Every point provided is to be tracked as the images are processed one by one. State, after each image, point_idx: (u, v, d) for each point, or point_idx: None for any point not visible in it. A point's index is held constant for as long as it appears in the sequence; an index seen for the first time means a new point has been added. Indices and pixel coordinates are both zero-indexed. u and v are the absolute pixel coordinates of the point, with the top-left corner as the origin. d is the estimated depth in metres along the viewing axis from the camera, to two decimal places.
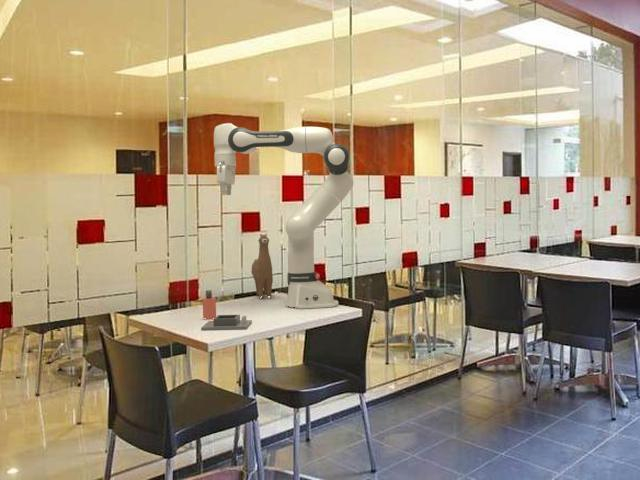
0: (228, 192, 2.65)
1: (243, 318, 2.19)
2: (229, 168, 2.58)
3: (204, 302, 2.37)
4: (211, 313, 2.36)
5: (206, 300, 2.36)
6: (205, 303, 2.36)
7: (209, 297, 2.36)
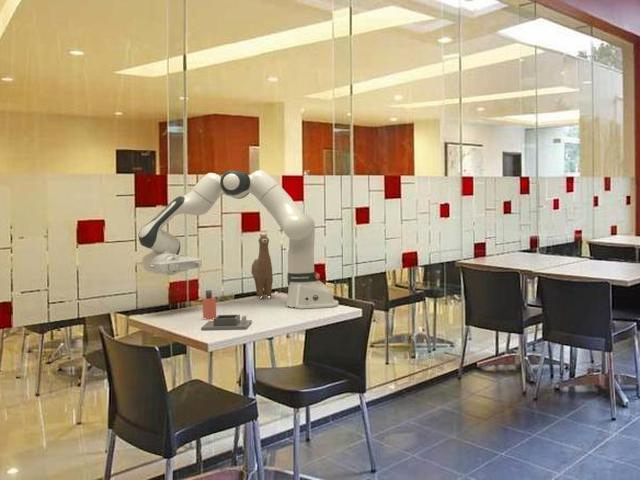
0: (195, 264, 2.49)
1: (243, 318, 2.19)
2: (168, 260, 2.51)
3: (204, 302, 2.37)
4: (211, 313, 2.36)
5: (206, 300, 2.36)
6: (205, 303, 2.36)
7: (209, 297, 2.36)
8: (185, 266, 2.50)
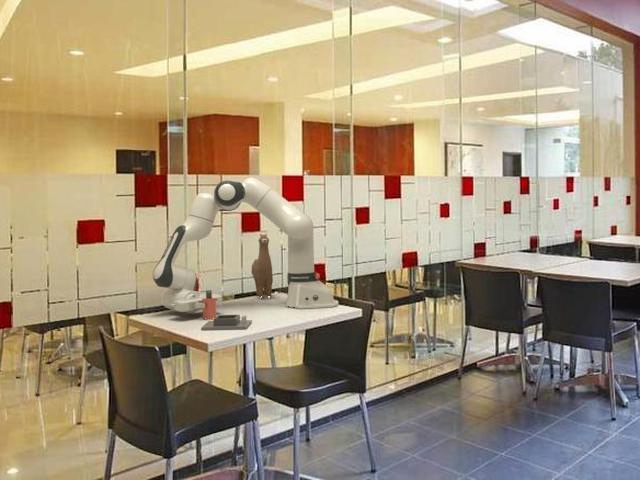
0: None
1: (243, 318, 2.19)
2: (188, 297, 2.43)
3: (204, 302, 2.37)
4: (211, 313, 2.36)
5: (206, 300, 2.36)
6: None
7: (209, 297, 2.36)
8: None
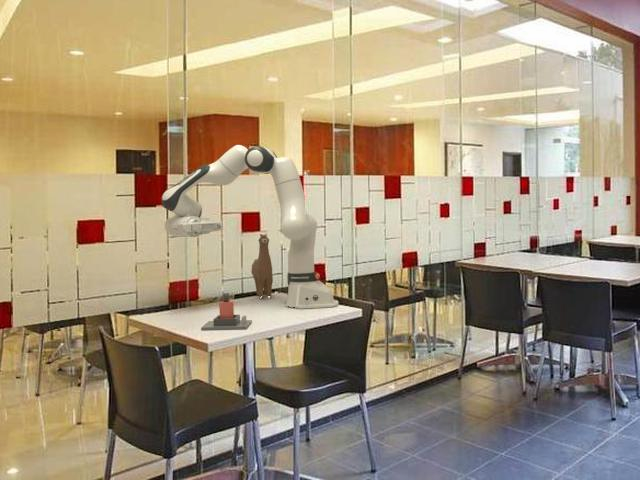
0: (217, 226, 2.55)
1: (243, 318, 2.19)
2: (190, 221, 2.57)
3: (221, 306, 2.20)
4: None
5: (223, 304, 2.19)
6: (222, 307, 2.20)
7: (226, 300, 2.20)
8: (207, 228, 2.56)
